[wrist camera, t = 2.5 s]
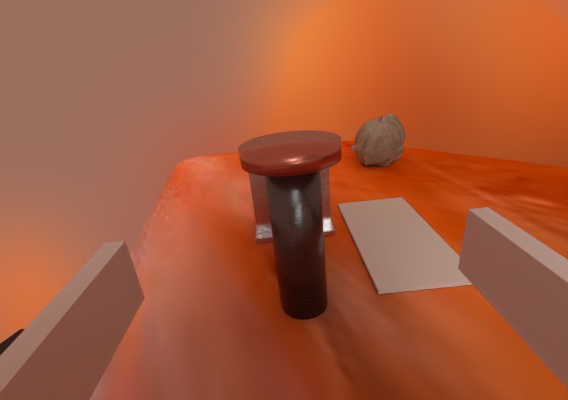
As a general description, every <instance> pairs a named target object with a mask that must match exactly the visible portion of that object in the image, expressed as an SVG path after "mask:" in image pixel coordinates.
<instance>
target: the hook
mask: <svg viewBox="0 0 568 400" xmlns="http://www.w3.org/2000/svg"><path fill="white" fill-rule="evenodd" d="M239 155H240V161H241V167H242V169H243V170H244V171H246V172H248V173H251V174H255V175H260V176H265V184H266V191H267V199H268V206H269V214H270V221H271V229H272V236H273V244H274V251H275V259H276V266H277V274H278V281H279V289H280V296H281V304H282V309H283V310H284V312H285V313H286V314H287V315H289V316H290V317H293V318H296V319H303V320H304V319H311V318H314V317H317V316H319V315H320V314H321V313H323V312H324V310H325V309H326V307H327V286H326V267H325V249H324V230H323V212H322V194H321V175H320V171H321V170H324V169H327V168H329V167H331V166H333V165H335V164H337V163H338V162H339V161H340V160H341V138H340V136H338V135H336V134H334V133H330V132H324V131H290V132H281V133H275V134H270V135H265V136H260V137H257V138H254V139H251V140H249V141H246V142H244V143H243V144H241V145H240V146H239Z"/></svg>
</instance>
